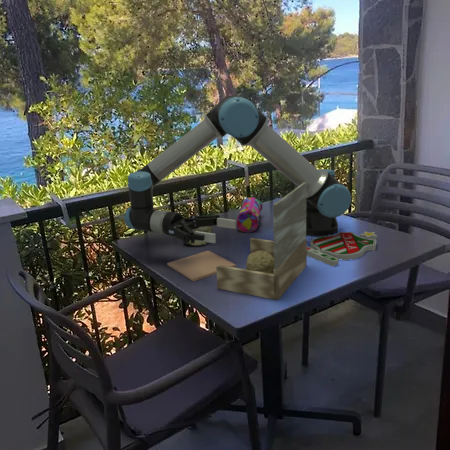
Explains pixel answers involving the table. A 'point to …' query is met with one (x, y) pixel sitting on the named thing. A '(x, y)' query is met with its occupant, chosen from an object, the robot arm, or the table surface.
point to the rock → (200, 243)
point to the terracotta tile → (199, 265)
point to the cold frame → (274, 252)
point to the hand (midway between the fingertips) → (225, 231)
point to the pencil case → (249, 215)
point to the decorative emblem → (341, 246)
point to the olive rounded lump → (260, 262)
